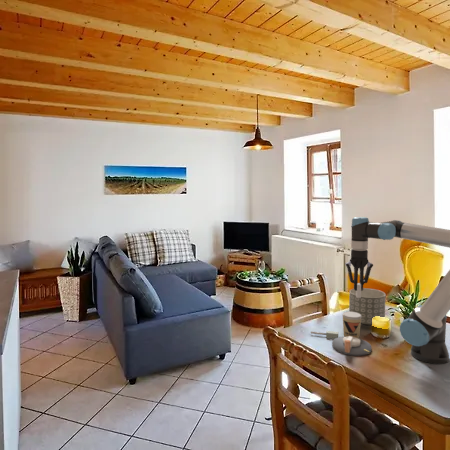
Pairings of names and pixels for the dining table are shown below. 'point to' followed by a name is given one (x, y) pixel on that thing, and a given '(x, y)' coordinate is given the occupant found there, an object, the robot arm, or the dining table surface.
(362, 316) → the planter
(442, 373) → the dining table surface
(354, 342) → the cream rounded piece
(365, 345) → the dark grey round plate
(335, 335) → the screwdriver
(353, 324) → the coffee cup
